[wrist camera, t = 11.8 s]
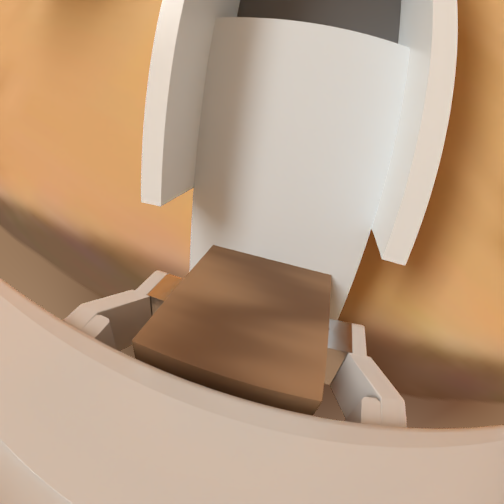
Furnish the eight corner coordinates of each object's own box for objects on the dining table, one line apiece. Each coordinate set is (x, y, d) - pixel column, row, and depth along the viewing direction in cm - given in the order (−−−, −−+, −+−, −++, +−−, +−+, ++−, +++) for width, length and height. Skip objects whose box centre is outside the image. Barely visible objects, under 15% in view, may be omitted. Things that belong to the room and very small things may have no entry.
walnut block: (331, 275, 11) (321, 401, 6) (301, 356, 13) (277, 463, 8) (213, 245, 12) (131, 340, 7) (207, 330, 14) (153, 422, 9)
